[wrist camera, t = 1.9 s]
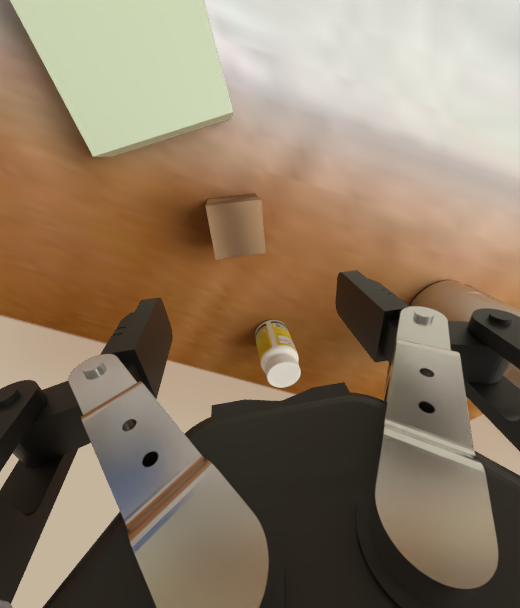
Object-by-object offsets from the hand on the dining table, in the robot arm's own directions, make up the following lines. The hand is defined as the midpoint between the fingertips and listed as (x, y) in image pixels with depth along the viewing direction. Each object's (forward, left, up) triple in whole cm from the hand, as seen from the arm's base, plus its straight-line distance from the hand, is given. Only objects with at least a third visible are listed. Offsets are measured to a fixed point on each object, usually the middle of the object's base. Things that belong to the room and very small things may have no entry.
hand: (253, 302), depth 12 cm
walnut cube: (0, 0, -19) cm, 19 cm away
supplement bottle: (-3, +16, -19) cm, 25 cm away
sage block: (+6, -14, -19) cm, 25 cm away
